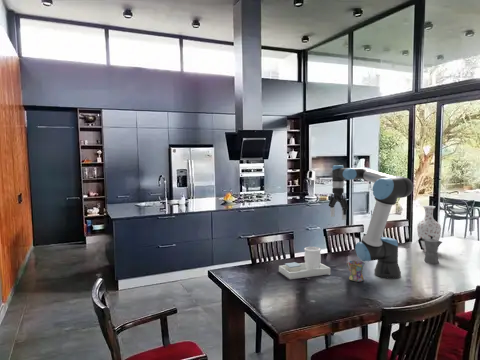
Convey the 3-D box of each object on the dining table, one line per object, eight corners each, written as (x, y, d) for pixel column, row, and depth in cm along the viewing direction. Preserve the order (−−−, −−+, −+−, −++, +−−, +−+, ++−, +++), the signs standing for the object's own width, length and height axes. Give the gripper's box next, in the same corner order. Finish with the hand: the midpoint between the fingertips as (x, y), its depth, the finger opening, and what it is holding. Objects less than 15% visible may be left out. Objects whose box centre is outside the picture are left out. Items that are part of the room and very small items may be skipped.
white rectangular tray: (330, 275, 216) (330, 268, 216) (289, 280, 208) (289, 273, 208) (317, 267, 232) (317, 261, 231) (278, 272, 223) (278, 265, 223)
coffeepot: (444, 262, 239) (444, 236, 238) (439, 265, 233) (439, 238, 232) (420, 257, 250) (420, 233, 249) (415, 260, 244) (415, 235, 243)
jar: (321, 274, 215) (321, 250, 214) (304, 273, 217) (304, 250, 216) (320, 269, 225) (320, 246, 225) (304, 268, 228) (304, 246, 227)
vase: (441, 250, 270) (441, 205, 269) (440, 255, 257) (440, 208, 255) (418, 247, 279) (418, 204, 277) (416, 252, 265) (416, 207, 263)
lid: (301, 266, 215) (301, 265, 215) (289, 267, 212) (289, 266, 212) (295, 263, 222) (295, 262, 222) (284, 264, 219) (284, 263, 219)
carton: (300, 275, 215) (300, 266, 215) (290, 276, 213) (290, 267, 213) (295, 271, 222) (295, 263, 221) (285, 273, 220) (285, 264, 219)
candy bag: (368, 280, 205) (368, 263, 204) (356, 283, 200) (356, 265, 200) (352, 275, 215) (352, 258, 215) (341, 278, 211) (341, 260, 210)
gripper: (323, 186, 249) (323, 215, 250) (344, 188, 225) (344, 221, 227) (332, 186, 251) (332, 215, 253) (353, 188, 228) (353, 220, 229)
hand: (338, 218), depth 240 cm, fingers open, 13 cm apart
